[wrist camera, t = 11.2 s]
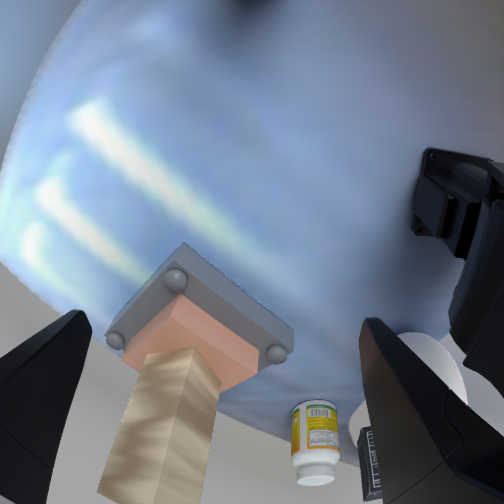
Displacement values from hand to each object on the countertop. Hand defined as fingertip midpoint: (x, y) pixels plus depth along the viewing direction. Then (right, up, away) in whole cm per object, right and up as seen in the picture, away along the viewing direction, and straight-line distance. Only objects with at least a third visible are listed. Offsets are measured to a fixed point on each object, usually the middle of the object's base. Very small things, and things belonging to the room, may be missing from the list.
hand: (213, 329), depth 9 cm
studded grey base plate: (-4, -4, +18) cm, 19 cm away
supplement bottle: (+9, -17, +24) cm, 31 cm away
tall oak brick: (-4, -7, +14) cm, 16 cm away
